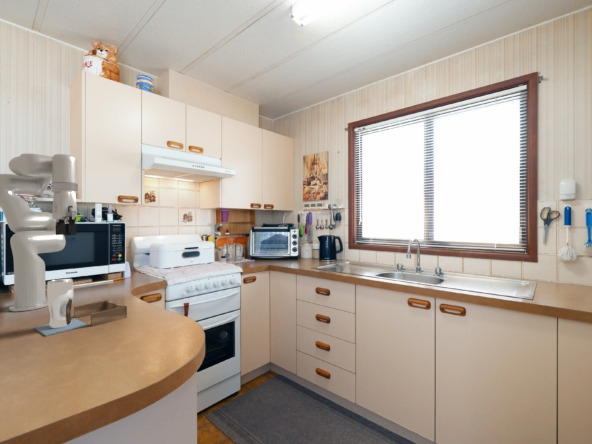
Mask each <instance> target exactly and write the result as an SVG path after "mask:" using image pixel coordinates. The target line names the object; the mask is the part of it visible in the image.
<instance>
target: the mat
mask: <svg viewBox="0 0 592 444" xmlns="http://www.w3.org/2000/svg"><path fill="white" fill-rule="evenodd" d="M71 319H72V324H71V325H69V326H67V327H63V328H57V329H50V328H49V323H48V324H42V325H39V326H35V327H33V328H34V329H35V330H36V331H37V332H39V333H40V334H41V335H43V336H44V337H49V336H53V335H58V334H62V333H65V332H68V331H69V332H70V331H72V330H77V329H81V328H84V327H88V326H89V325H88V323H86V322H83V321H81V320H80V319H78V318H74V317H73V318H71Z"/></svg>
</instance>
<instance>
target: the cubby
mask: <svg viewBox="0 0 592 444" xmlns="http://www.w3.org/2000/svg"><path fill="white" fill-rule="evenodd" d="M87 316H90V327H94V326H99V325H103V324H107V323H111V322H114V321H118V320H122V319H125V318H127V317H128V307H127V306H126V305H124V304H121V303H117V302H115V301H112V300H108V299H106V300H105V299H104V300H101V301H96V302H92V303H91V302H90V303H86V304H80V305H78V306H77V305H76V306H74V307H73V318H75V319H78V318H82V317H87Z"/></svg>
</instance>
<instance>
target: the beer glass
mask: <svg viewBox="0 0 592 444" xmlns="http://www.w3.org/2000/svg"><path fill="white" fill-rule="evenodd" d="M73 280H74V279H72V278H60V279H53V280H49V281H46V283H47V285H46V300H47V302H48V306H47V307H48V310H49V314H50V315H49V316H50V318H49V323H48V324H49V328H50V329H57V328H63V327H67V326H69V325H71V324H72V319H73V318H72V312H71V311H72V306H73V301H74V296H75V295H74V291H75V290H74V281H73Z"/></svg>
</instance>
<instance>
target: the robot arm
mask: <svg viewBox="0 0 592 444" xmlns="http://www.w3.org/2000/svg"><path fill="white" fill-rule="evenodd" d="M78 165H79V162H78V158H77V157H76V156H74V155H70V154H63V153H56V154H54V155H52V156H51V155H46V154H45V155H44V154H38V153H30V152H29V153H21V154H19V156H16V157H13V158H11V159H10V160H9V161H8V168H9V170H10V171H11V172H12V173H0V208H1V210H2V212H3V215H4V218H5V221H6V223H7V226H8V228H9V229H10V231H12V232H13V233H14V234H13V235H12V236H11V237H10V242H9V243H10V248H11V252H12V253H11V254H12V258H13V276H14V277H13V279H14V280H13V281H14V282H13V289H14V290H13V291H14V293H13V294H14V297H13V298H14V299H13V300H14V301H13V303H14V305H13V304H12V305H11V306H9V307H8V311H10V312H25V311H32V310H37V309H38V310H39V309H43V308H46V307H48V302H47V292H46V264H45V263H46V262H45V261H44V259H42V258H41V257H40V256H39V255H38V254H46V253H56V252H60V251H63V250H64V249H65V246H66V242H67V241H66V237H65V236H76V235H77V217H78V215H77V214H78V208H77V207H78V206H77V205H78V204H77V202H78V201H77V194H78V193H79V176H78V175H79V173H78V170H79V168H78V167H79V166H78ZM50 183H51V192H52V193H53V199H52V200H53V201H52V213H51V212H48V211H34V210H31V208H30V205H29V204H28V202H27V201H26V200H25V199H23V198H21V197H20V196H18V195H25V196H29V195H30V196H40V195H42V194H44V193H45V191H46V190H47V188H48V186H49V185H50Z"/></svg>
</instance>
